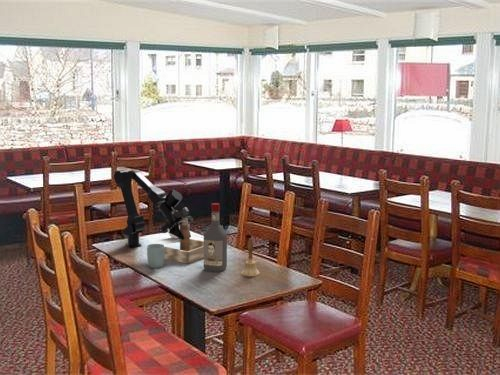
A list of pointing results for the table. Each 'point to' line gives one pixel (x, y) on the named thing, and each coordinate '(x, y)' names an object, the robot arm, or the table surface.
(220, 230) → the liquor
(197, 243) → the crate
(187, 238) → the pepper mill
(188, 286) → the table surface
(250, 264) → the hand bell
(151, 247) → the cup
